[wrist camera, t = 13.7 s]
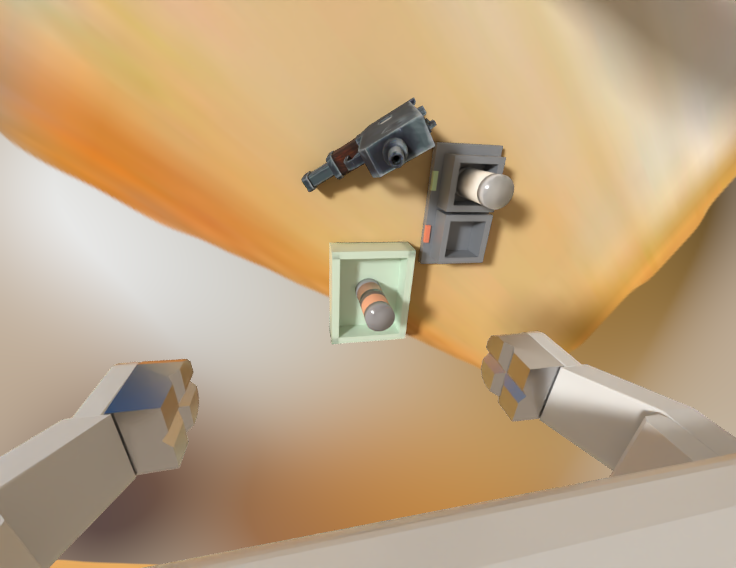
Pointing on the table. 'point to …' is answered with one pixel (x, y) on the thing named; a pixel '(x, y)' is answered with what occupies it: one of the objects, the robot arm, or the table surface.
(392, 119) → the gun
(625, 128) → the table surface
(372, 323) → the fuse
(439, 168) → the block
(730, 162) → the table surface
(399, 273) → the tray
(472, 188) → the ball
